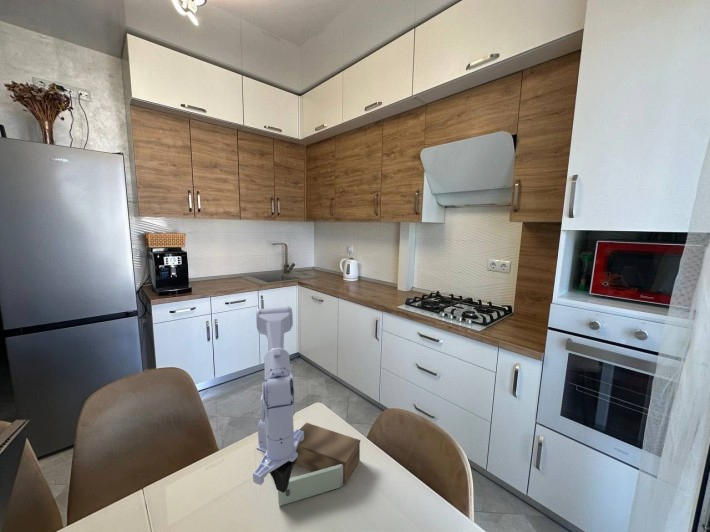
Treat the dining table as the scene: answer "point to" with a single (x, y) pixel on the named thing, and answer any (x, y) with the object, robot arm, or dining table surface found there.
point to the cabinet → (327, 450)
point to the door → (312, 484)
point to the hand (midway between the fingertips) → (282, 488)
